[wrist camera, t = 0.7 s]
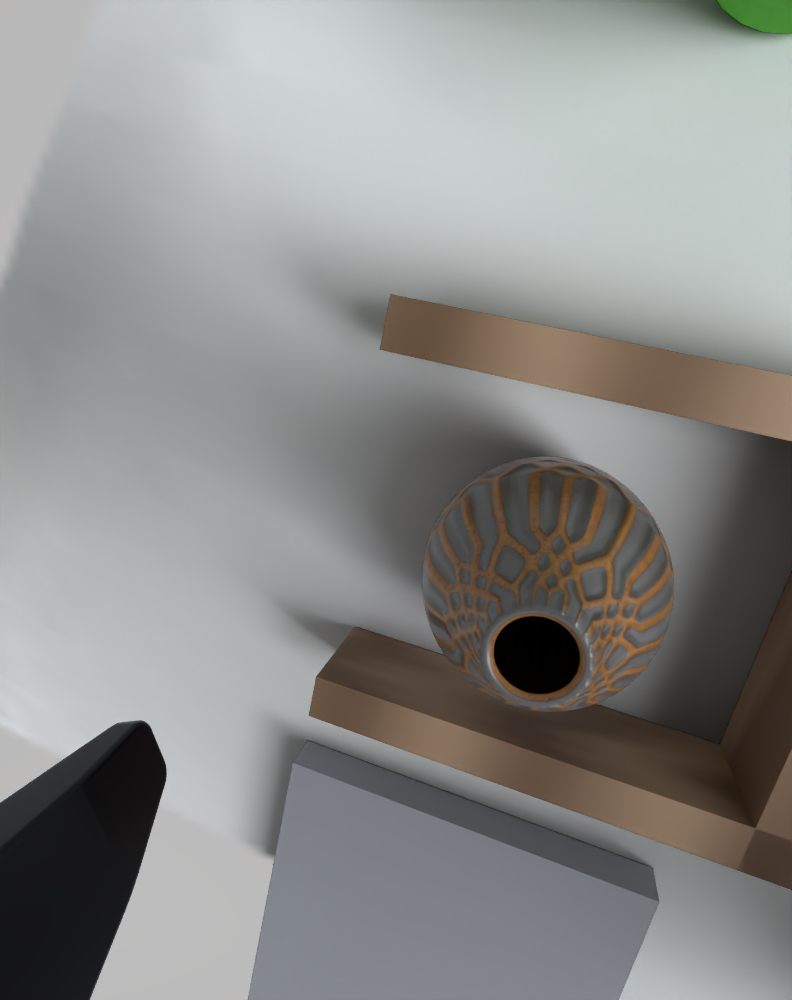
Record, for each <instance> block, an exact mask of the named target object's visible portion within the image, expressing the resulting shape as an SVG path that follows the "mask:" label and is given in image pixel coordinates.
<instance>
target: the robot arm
mask: <svg viewBox="0 0 792 1000" xmlns="http://www.w3.org/2000/svg"><path fill="white" fill-rule="evenodd" d="M166 775H167V774H166V764H165V761H164V759H163V756H162V754H161V751H160V749H159V746H158V744H157V742H156V739H155V737H154V734H153V732H152V729H151V727H150V725H148V724H147V723H146V722H145V721H141V720H139V721H130V722H121V723H117V724H115V725H113V726H111V727H110V728H108V729H107V730H106V731H104V732H103V733H101V734H100V735H98V736H97V737H95V738H94V739H92V740H91V741H90V742H88V743H87V744H85V745H84V746H82V747H81V748H79V749H78V750H76V751H75V752H73V753H72V754H71V755H69V756H68V757H66V758H65V759H63V760H62V761H60V762H59V763H57V764H56V765H55V766H53V767H52V768H50V769H49V770H47V771H46V772H44V773H43V774H42V775H40V776H39V777H37V778H36V779H34V780H33V781H32V782H30V783H28V784H27V785H26V786H24V787H23V788H21V789H20V790H18V791H17V792H15V793H14V794H12V795H11V796H9V797H8V798H7V799H5V800H4V801H2V802H1V803H0V1000H90V998H91V995H92V993H93V990H94V988H95V985H96V983H97V980H98V978H99V975H100V973H101V970H102V968H103V965H104V963H105V960H106V958H107V955H108V953H109V950H110V948H111V945H112V942H113V940H114V938H115V935H116V933H117V930H118V928H119V925H120V923H121V920H122V917H123V915H124V913H125V910H126V907H127V904H128V902H129V899H130V897H131V894H132V891H133V888H134V885H135V882H136V879H137V876H138V873H139V869H140V866H141V863H142V859H143V856H144V852H145V849H146V846H147V842H148V839H149V836H150V833H151V829H152V826H153V823H154V819H155V816H156V813H157V809H158V806H159V803H160V799H161V796H162V793H163V789H164V786H165V782H166Z"/></svg>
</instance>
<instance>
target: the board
mask: <svg viewBox="0 0 792 1000" xmlns="http://www.w3.org/2000/svg"><path fill="white" fill-rule="evenodd" d="M658 904H659V898H658V893H657V887H656V882H655V877H654V871H653V868H651V867H648V866H646V865H643V864H640V863H638V862H635V861H632V860H630V859H627V858H624V857H621V856H619V855H616V854H613V853H611V852H608V851H605V850H602V849H600V848H597V847H594V846H592V845H589V844H586V843H584V842H581V841H578V840H575V839H573V838H570V837H567V836H565V835H562V834H559V833H556V832H554V831H551V830H548V829H546V828H543V827H540V826H538V825H535V824H532V823H529V822H527V821H524V820H521V819H519V818H516V817H513V816H510V815H508V814H505V813H502V812H500V811H497V810H494V809H492V808H489V807H486V806H483V805H481V804H478V803H475V802H473V801H470V800H467V799H464V798H462V797H459V796H456V795H454V794H451V793H448V792H446V791H443V790H440V789H437V788H435V787H432V786H429V785H427V784H424V783H421V782H418V781H416V780H413V779H410V778H408V777H405V776H402V775H400V774H397V773H394V772H391V771H389V770H386V769H383V768H381V767H378V766H375V765H372V764H370V763H367V762H364V761H362V760H359V759H356V758H354V757H351V756H348V755H345V754H343V753H340V752H337V751H335V750H332V749H329V748H327V747H324V746H321V745H318V744H316V743H313V742H310V741H307V743H306V744H305V746H304V747H303V749H302V750H301V751H300V753H299V754H298V756H297V757H296V759H295V760H294V762H293V765H292V770H291V775H290V780H289V786H288V791H287V796H286V801H285V807H284V812H283V817H282V822H281V828H280V833H279V838H278V843H277V849H276V854H275V859H274V864H273V870H272V875H271V880H270V885H269V891H268V896H267V901H266V906H265V912H264V917H263V922H262V927H261V933H260V938H259V944H258V948H257V954H256V959H255V964H254V969H253V975H252V980H251V985H250V991H249V996H248V1000H619V998H620V995H621V993H622V990H623V988H624V986H625V983H626V981H627V978H628V976H629V974H630V971H631V969H632V966H633V964H634V961H635V959H636V957H637V954H638V952H639V949H640V947H641V945H642V942H643V940H644V937H645V935H646V933H647V930H648V928H649V925H650V923H651V921H652V918H653V916H654V913H655V911H656V909H657V906H658Z"/></svg>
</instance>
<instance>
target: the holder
mask: <svg viewBox="0 0 792 1000" xmlns="http://www.w3.org/2000/svg"><path fill="white" fill-rule="evenodd" d="M380 350H384V351H389V352H393V353H398V354H402V355H407V356H411V357H416V358H420V359H425V360H429V361H433V362H438V363H442V364H447V365H451V366H456V367H460V368H465V369H469V370H474V371H478V372H483V373H487V374H492V375H496V376H501V377H505V378H510V379H514V380H519V381H523V382H528V383H532V384H537V385H541V386H546V387H550V388H555V389H559V390H564V391H568V392H573V393H577V394H582V395H586V396H590V397H595V398H599V399H604V400H608V401H613V402H617V403H622V404H626V405H631V406H635V407H640V408H644V409H649V410H653V411H658V412H662V413H667V414H671V415H676V416H680V417H685V418H689V419H694V420H698V421H703V422H707V423H712V424H716V425H721V426H725V427H730V428H734V429H739V430H743V431H747V432H752V433H756V434H761V435H765V436H770V437H774V438H779V439H783V440H788V441H792V376H791V375H786V374H781V373H776V372H772V371H767V370H762V369H757V368H752V367H747V366H742V365H737V364H732V363H727V362H722V361H717V360H712V359H707V358H702V357H698V356H693V355H688V354H683V353H678V352H673V351H668V350H663V349H658V348H653V347H648V346H643V345H638V344H633V343H628V342H624V341H619V340H614V339H609V338H604V337H599V336H594V335H589V334H584V333H579V332H574V331H569V330H564V329H559V328H555V327H550V326H545V325H540V324H535V323H530V322H525V321H520V320H515V319H510V318H505V317H500V316H495V315H490V314H485V313H481V312H476V311H471V310H466V309H461V308H456V307H451V306H446V305H441V304H436V303H431V302H426V301H421V300H416V299H411V298H407V297H402V296H397V295H392V294H390V300H389V305H388V310H387V315H386V320H385V325H384V330H383V336H382V341H381V346H380ZM309 716H311V717H314V718H317V719H319V720H322V721H325V722H328V723H331V724H333V725H336V726H339V727H342V728H344V729H347V730H350V731H353V732H355V733H358V734H361V735H364V736H367V737H369V738H372V739H375V740H378V741H380V742H383V743H386V744H389V745H392V746H394V747H397V748H400V749H403V750H405V751H408V752H411V753H414V754H417V755H419V756H422V757H425V758H428V759H430V760H433V761H436V762H439V763H441V764H444V765H447V766H450V767H453V768H455V769H458V770H461V771H464V772H466V773H469V774H472V775H475V776H478V777H480V778H483V779H486V780H489V781H491V782H494V783H497V784H500V785H502V786H505V787H508V788H511V789H514V790H516V791H519V792H522V793H525V794H527V795H530V796H533V797H536V798H539V799H541V800H544V801H547V802H550V803H552V804H555V805H558V806H561V807H564V808H566V809H569V810H572V811H575V812H577V813H580V814H583V815H586V816H588V817H591V818H594V819H597V820H600V821H602V822H605V823H608V824H611V825H613V826H616V827H619V828H622V829H625V830H627V831H630V832H633V833H636V834H638V835H641V836H644V837H647V838H649V839H652V840H655V841H658V842H661V843H663V844H666V845H669V846H672V847H674V848H677V849H680V850H683V851H686V852H688V853H691V854H694V855H697V856H699V857H702V858H705V859H708V860H711V861H713V862H716V863H719V864H722V865H724V866H727V867H730V868H733V869H735V870H738V871H741V872H744V873H747V874H749V875H752V876H755V877H758V878H760V879H763V880H766V881H769V882H772V883H774V884H777V885H780V886H783V887H785V888H788V889H791V890H792V571H791V574H790V576H789V579H788V581H787V584H786V586H785V588H784V591H783V593H782V596H781V598H780V600H779V603H778V605H777V608H776V610H775V613H774V615H773V617H772V620H771V622H770V625H769V627H768V630H767V632H766V634H765V637H764V639H763V642H762V644H761V646H760V649H759V651H758V654H757V656H756V659H755V661H754V663H753V666H752V668H751V671H750V673H749V676H748V678H747V680H746V683H745V685H744V688H743V690H742V692H741V695H740V697H739V700H738V702H737V705H736V707H735V709H734V712H733V714H732V717H731V719H730V722H729V724H728V726H727V729H726V731H725V734H724V736H723V738H722V741H721V743H720V744H717V743H714V742H710V741H707V740H704V739H701V738H698V737H695V736H692V735H689V734H686V733H683V732H680V731H676V730H673V729H670V728H667V727H664V726H661V725H658V724H655V723H652V722H649V721H645V720H642V719H639V718H636V717H633V716H630V715H627V714H624V713H621V712H618V711H615V710H611V709H608V708H605V707H602V706H599V705H596V704H594V705H591V706H587V707H584V708H580V709H575V710H568V711H559V712H544V711H534V710H528V709H523V708H519V707H515V706H512V705H509V704H507V703H504V702H502V701H499V700H497V699H495V698H493V697H491V696H489V695H488V694H486V693H484V692H482V691H481V690H479V689H478V688H477V687H475V686H474V685H472V684H471V683H470V682H469V681H468V680H466V679H465V678H464V677H463V676H462V675H461V674H460V673H459V672H458V671H457V670H456V669H455V668H454V666H453V665H452V664H451V663H450V661H449V660H448V659H447V657H446V656H444V655H441V654H438V653H435V652H432V651H429V650H426V649H423V648H420V647H416V646H413V645H410V644H407V643H404V642H401V641H398V640H395V639H392V638H389V637H385V636H382V635H379V634H376V633H373V632H370V631H367V630H364V629H361V628H358V627H355V628H354V629H353V630H352V632H351V633H350V634H349V636H348V637H347V638H346V639H345V641H344V642H343V643H342V644H341V646H340V647H339V648H338V650H337V651H336V652H335V653H334V655H333V656H332V657H331V659H330V660H329V661H328V662H327V664H326V665H325V666H324V667H323V669H322V670H321V671H320V673H319V674H318V675H317V676H316V681H315V686H314V691H313V696H312V701H311V706H310V712H309Z"/></svg>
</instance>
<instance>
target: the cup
mask: <svg viewBox="0 0 792 1000" xmlns="http://www.w3.org/2000/svg"><path fill="white" fill-rule="evenodd" d="M717 1H718V3H719V4H720V6H721V7H722V8H723V9H724V10H725V12H727V13H728V14H729V15H730V16H732V17H733V18H734V19H736V20H737V21H738V22H739V23H741V24H742V25H745V26H748V27H750V28H753V29H756V30H758V31H761V32H769V33H781V34H792V0H717Z"/></svg>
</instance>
